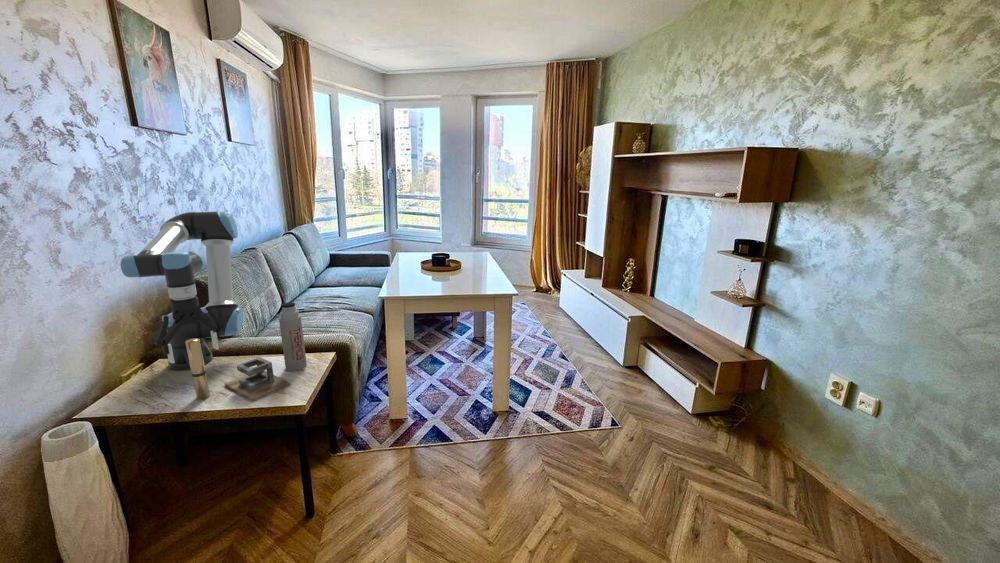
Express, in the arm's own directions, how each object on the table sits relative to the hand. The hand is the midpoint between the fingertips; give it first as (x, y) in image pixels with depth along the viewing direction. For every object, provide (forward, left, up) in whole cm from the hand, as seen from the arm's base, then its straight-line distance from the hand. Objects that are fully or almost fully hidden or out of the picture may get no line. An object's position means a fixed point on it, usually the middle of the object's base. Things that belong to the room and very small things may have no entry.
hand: (194, 355), depth 143 cm
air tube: (0, 0, -17) cm, 17 cm away
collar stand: (+8, +15, -17) cm, 24 cm away
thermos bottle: (+6, +32, -17) cm, 37 cm away
